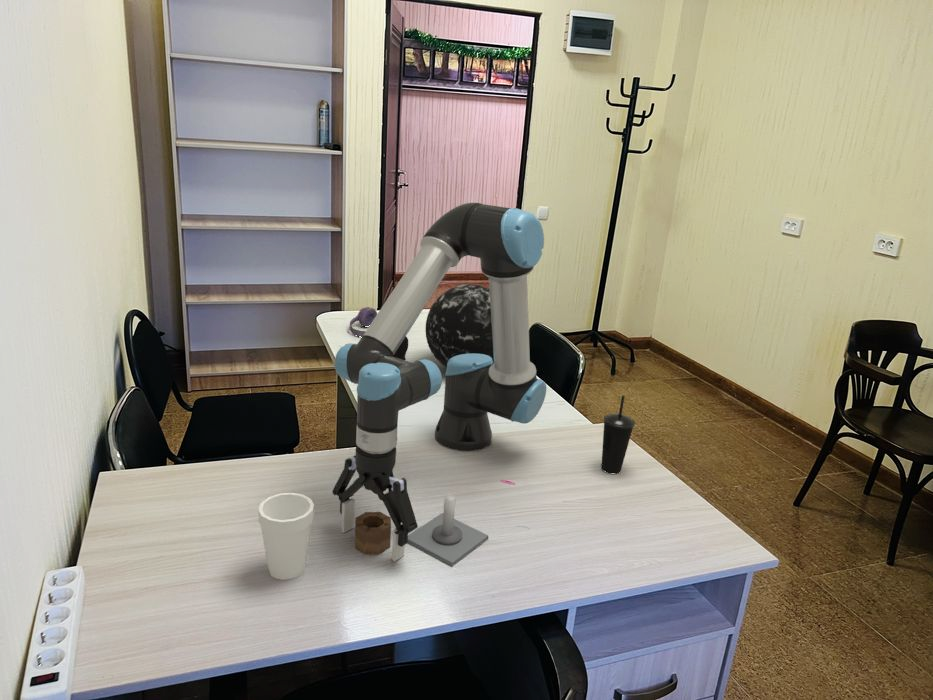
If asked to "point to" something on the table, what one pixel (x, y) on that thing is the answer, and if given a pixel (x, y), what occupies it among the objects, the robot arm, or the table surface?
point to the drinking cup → (616, 440)
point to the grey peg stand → (447, 536)
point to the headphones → (363, 319)
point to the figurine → (402, 349)
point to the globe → (460, 323)
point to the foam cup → (286, 533)
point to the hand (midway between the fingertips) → (371, 543)
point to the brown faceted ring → (372, 532)
